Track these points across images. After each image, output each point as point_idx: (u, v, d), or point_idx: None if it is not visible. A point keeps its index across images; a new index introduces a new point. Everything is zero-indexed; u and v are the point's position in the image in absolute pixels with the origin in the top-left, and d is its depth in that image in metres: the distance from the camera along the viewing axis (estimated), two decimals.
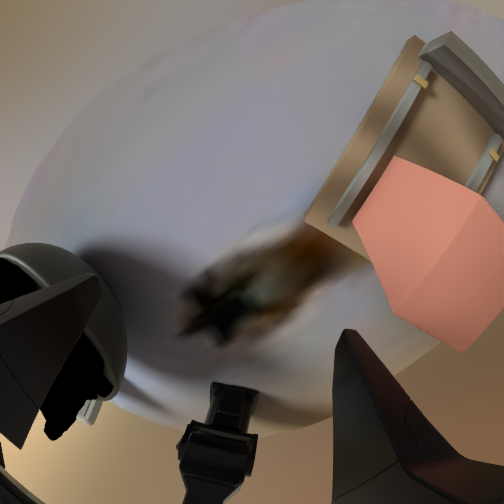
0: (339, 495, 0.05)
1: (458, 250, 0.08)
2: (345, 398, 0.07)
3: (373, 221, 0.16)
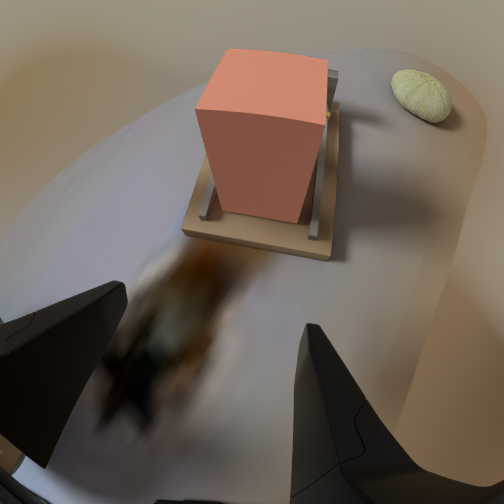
0: (295, 495, 0.05)
1: (226, 67, 0.12)
2: (302, 394, 0.07)
3: None
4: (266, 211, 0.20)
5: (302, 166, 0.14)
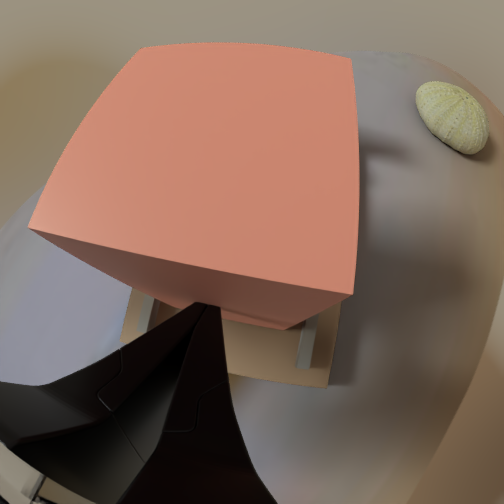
0: None
1: (117, 92, 0.05)
2: None
3: None
4: (235, 320, 0.13)
5: (286, 313, 0.07)
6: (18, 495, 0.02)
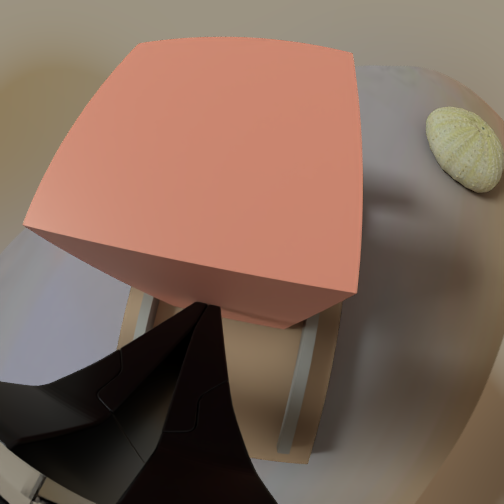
0: None
1: (114, 87, 0.05)
2: None
3: None
4: (235, 318, 0.13)
5: (286, 312, 0.07)
6: (18, 495, 0.02)
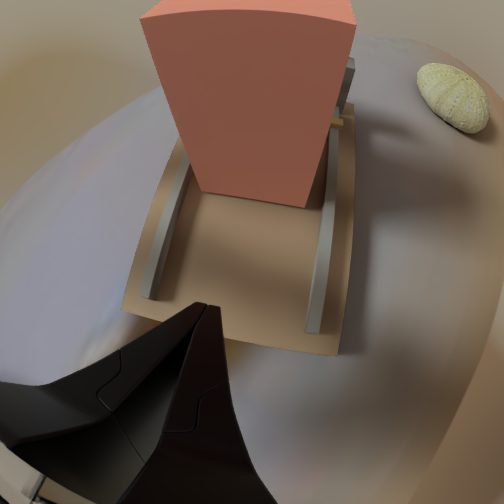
0: None
1: None
2: None
3: None
4: (261, 190, 0.14)
5: (316, 107, 0.08)
6: (18, 495, 0.02)
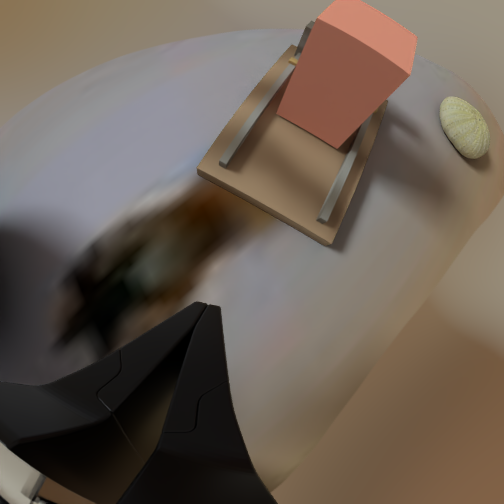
0: None
1: (343, 4, 0.11)
2: None
3: None
4: (317, 127, 0.20)
5: (374, 98, 0.14)
6: (18, 495, 0.02)
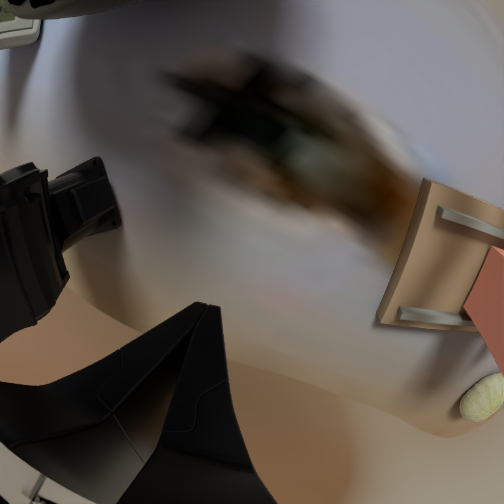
0: None
1: None
2: None
3: None
4: (481, 290, 0.16)
5: (503, 361, 0.11)
6: (18, 495, 0.02)
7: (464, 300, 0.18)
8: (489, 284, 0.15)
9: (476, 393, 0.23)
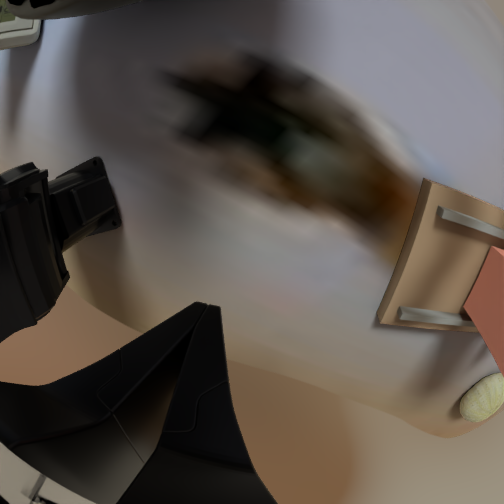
0: None
1: None
2: None
3: None
4: (481, 290, 0.16)
5: (503, 361, 0.11)
6: (18, 495, 0.02)
7: (464, 300, 0.18)
8: (489, 284, 0.15)
9: (476, 393, 0.23)
